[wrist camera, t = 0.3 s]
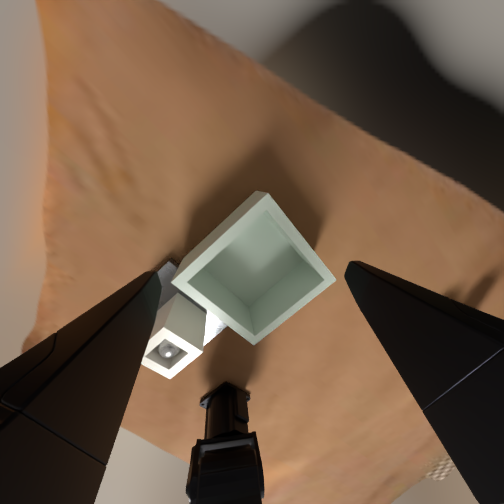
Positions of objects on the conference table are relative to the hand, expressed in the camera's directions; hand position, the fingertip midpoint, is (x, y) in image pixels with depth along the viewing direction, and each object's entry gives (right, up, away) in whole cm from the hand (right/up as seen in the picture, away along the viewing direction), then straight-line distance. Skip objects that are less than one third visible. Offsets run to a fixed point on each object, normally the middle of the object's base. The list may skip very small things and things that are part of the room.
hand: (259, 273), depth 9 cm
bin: (0, 0, +16) cm, 16 cm away
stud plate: (-10, -7, +17) cm, 21 cm away
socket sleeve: (-10, -7, +16) cm, 20 cm away
